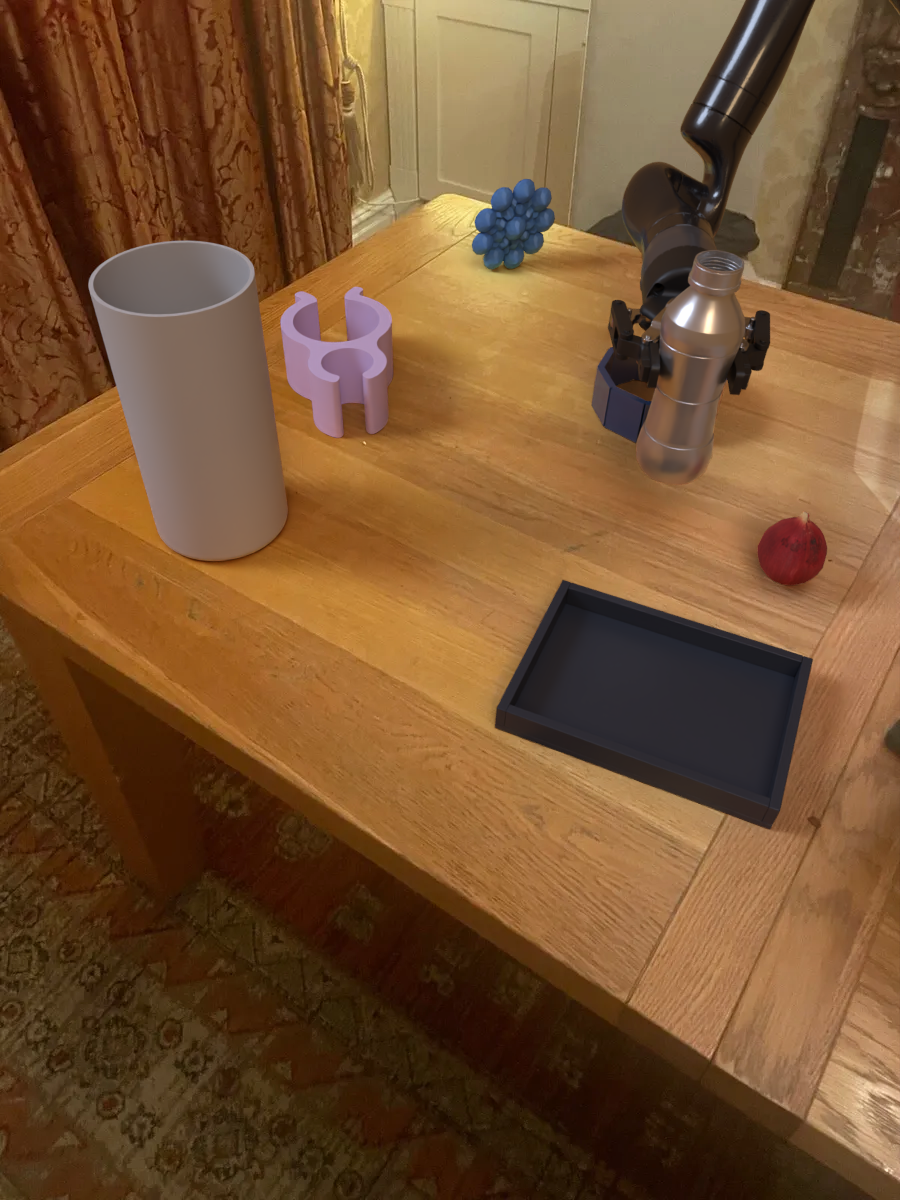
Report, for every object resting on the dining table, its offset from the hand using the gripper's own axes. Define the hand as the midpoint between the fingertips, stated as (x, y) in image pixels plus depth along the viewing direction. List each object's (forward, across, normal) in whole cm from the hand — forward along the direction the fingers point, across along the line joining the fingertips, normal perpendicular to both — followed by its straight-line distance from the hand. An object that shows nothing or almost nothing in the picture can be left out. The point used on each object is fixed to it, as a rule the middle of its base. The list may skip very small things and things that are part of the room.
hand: (695, 381), depth 73 cm
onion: (+3, +12, +19) cm, 22 cm away
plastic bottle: (-2, 0, +11) cm, 11 cm away
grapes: (-57, -18, +19) cm, 63 cm away
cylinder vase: (+1, -42, +19) cm, 46 cm away
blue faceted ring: (-24, +1, +19) cm, 31 cm away
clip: (-24, -35, +19) cm, 46 cm away
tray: (+18, -1, +18) cm, 26 cm away
